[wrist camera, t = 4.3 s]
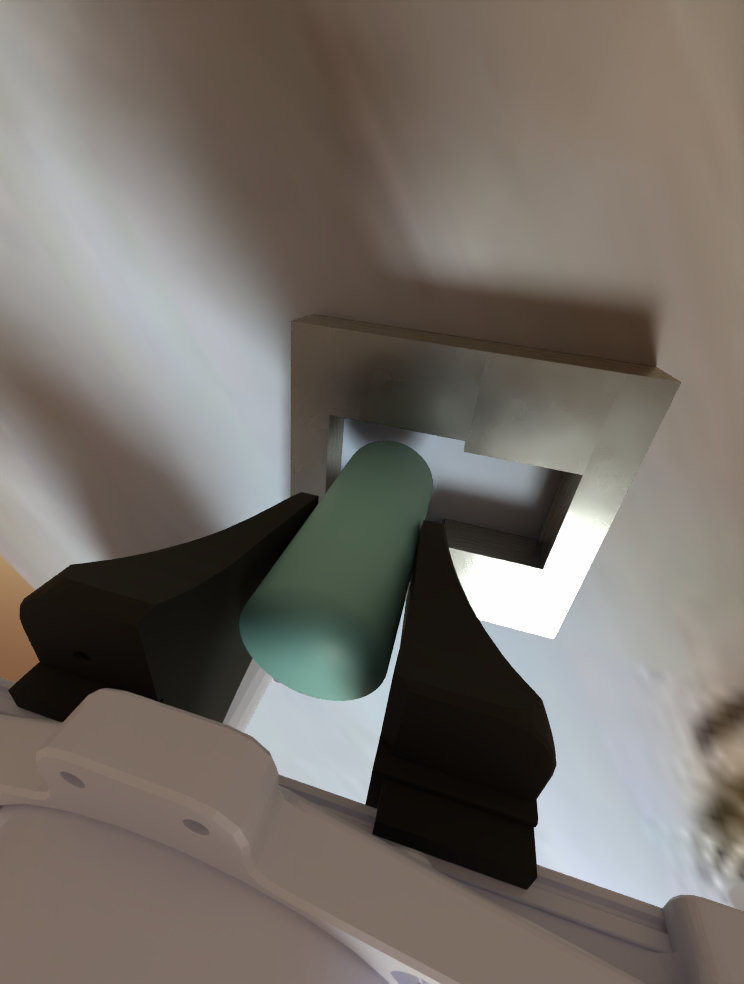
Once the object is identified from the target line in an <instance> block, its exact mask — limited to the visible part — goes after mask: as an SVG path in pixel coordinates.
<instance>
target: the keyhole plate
mask: <svg viewBox="0 0 744 984" xmlns="http://www.w3.org/2000/svg"><path fill="white" fill-rule="evenodd" d="M680 384H681V382H680V381H678V380H677V379H675V378H674V377H672V376H670V375H669V374H667V373H665V372H664V371H662V370H661V369H659V368H657V367H652V366H645V365H639V364H632V363H626V362H619V361H613V360H606V359H600V358H593V357H587V356H580V355H573V354H567V353H560V352H554V351H547V350H541V349H534V348H528V347H521V346H515V345H508V344H501V343H495V342H488V341H482V340H475V339H469V338H462V337H456V336H449V335H443V334H436V333H429V332H423V331H416V330H410V329H403V328H397V327H390V326H384V325H377V324H371V323H364V322H357V321H351V320H344V319H338V318H331V317H325V316H318V315H311V316H307V317H304V318H300V319H297V320H294V321H291V497H292V496H294V495H296V494H298V493H300V492H304V493H308V494H313V495H317V496H319V502H320V501H321V499H322V498H323V496H324V495H325V494H326V492H327V491H328V490H329V488H330V487H331V485H332V484H333V483H334V481H335V480H336V478H337V477H338V476H339V474H340V469H341V456H342V442H343V429H344V418H349V419H354V420H359V421H364V422H369V423H375V424H380V425H385V426H390V427H395V428H401V429H406V430H411V431H416V432H421V433H426V434H432V435H437V436H442V437H447V438H452V439H458V440H463V441H465V446H464V452H468V453H473V454H478V455H483V456H489V457H494V458H499V459H504V460H509V461H514V462H519V463H524V464H529V465H534V466H539V467H544V468H549V469H555V470H560V471H565V472H564V475H563V477H562V480H561V483H560V485H559V488H558V490H557V493H556V495H555V498H554V500H553V503H552V505H551V508H550V510H549V513H548V516H547V518H546V521H545V523H544V526H543V528H542V531H541V533H540V536H539V538H538V540H535V539H530V538H526V537H521V536H517V535H513V534H508V533H504V532H499V531H495V530H490V529H486V528H481V527H477V526H472V525H468V524H464V523H459V522H455V521H450V520H446V519H445V523H444V526H445V528H446V537H447V542H448V547H449V551H450V554H451V558H452V561H453V564H454V567H455V570H456V573H457V575H458V578H459V581H460V583H461V585H462V588H463V590H464V592H465V594H466V597H467V599H468V601H469V603H470V605H471V606H472V608H473V610H474V612H475V614H476V616H477V617H478V619H479V620H483V621H487V622H491V623H495V624H499V625H502V626H506V627H510V628H514V629H518V630H522V631H525V632H529V633H533V634H537V635H541V636H545V637H548V638H552V639H554V638H555V636H556V634H557V632H558V630H559V628H560V626H561V624H562V622H563V620H564V618H565V616H566V614H567V611H568V609H569V607H570V605H571V603H572V601H573V599H574V597H575V595H576V593H577V591H578V589H579V587H580V585H581V583H582V581H583V579H584V577H585V575H586V573H587V571H588V569H589V567H590V565H591V563H592V561H593V559H594V557H595V555H596V553H597V551H598V549H599V547H600V545H601V543H602V541H603V539H604V537H605V535H606V533H607V531H608V529H609V527H610V525H611V523H612V521H613V519H614V517H615V515H616V513H617V511H618V509H619V507H620V505H621V503H622V501H623V499H624V497H625V495H626V493H627V491H628V489H629V487H630V485H631V483H632V481H633V479H634V477H635V475H636V473H637V470H638V468H639V466H640V464H641V462H642V460H643V458H644V456H645V454H646V452H647V450H648V448H649V446H650V444H651V442H652V440H653V438H654V436H655V434H656V432H657V430H658V428H659V426H660V424H661V422H662V420H663V418H664V416H665V414H666V412H667V410H668V408H669V406H670V404H671V402H672V400H673V398H674V396H675V394H676V392H677V390H678V388H679V386H680ZM319 502H318V503H319ZM408 588H409V587H408ZM407 593H408V591H407ZM406 598H407V595H406ZM406 598H405V600H406Z"/></svg>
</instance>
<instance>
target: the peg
mask: <svg viewBox="0 0 744 984" xmlns="http://www.w3.org/2000/svg"><path fill="white" fill-rule="evenodd" d="M432 490H433V479H432V474H431V471H430V469H429V467H428V465H427V463H426V462H425V460H424V459H423V458H422V457H421V456H420V455H419V454H418V453H417V452H416V451H414V450H413V449H412V448H410V447H408V446H406V445H403V444H401V443H398V442H393V441H377V442H373V443H370V444H367V445H365V446H363V447H362V448H360V449H359V450H358V451H357V452H356V453H355V454H354V455H353V456H352V458H351V459H350V460H349V462H348V463H347V465H346V466H345V467H344V469H343V470H342V472H341V473H340V474H339V476H338V477H337V478H336V480H335V481H334V483H333V484H332V485H331V487H330V488H329V490H328V491H327V492H326V494H325V495H324V496H323V498H322V499H321V501H320V502H319V503H318V505H317V506H316V508H315V509H314V510H313V512H312V513H311V514H310V516H309V517H308V519H307V520H306V521H305V523H304V524H303V526H302V527H301V528H300V530H299V531H298V533H297V534H296V535H295V537H294V538H293V539H292V541H291V542H290V544H289V545H288V546H287V548H286V549H285V551H284V552H283V553H282V555H281V556H280V557H279V559H278V560H277V562H276V563H275V564H274V566H273V567H272V569H271V570H270V571H269V573H268V574H267V575H266V577H265V578H264V580H263V581H262V582H261V584H260V585H259V587H258V588H257V589H256V591H255V592H254V593H253V595H252V596H251V598H250V599H249V600H248V602H247V603H246V605H245V606H244V608H243V610H242V612H241V615H240V620H239V628H240V634H241V637H242V640H243V643H244V645H245V647H246V649H247V651H248V652H249V654H250V655H251V657H252V658H253V659H254V660H255V662H256V663H257V664H258V665H259V666H260V667H261V668H262V669H263V670H264V671H265V672H266V673H268V674H269V675H270V676H271V677H273V678H274V679H275V680H277V681H278V682H280V683H282V684H283V685H285V686H287V687H289V688H291V689H293V690H295V691H297V692H299V693H302V694H305V695H308V696H311V697H315V698H319V699H324V700H333V701H346V700H353V699H358V698H361V697H364V696H367V695H368V694H370V693H372V692H373V691H375V690H376V689H377V688H378V687H379V686H380V685H381V684H382V682H383V680H384V679H385V677H386V673H387V670H388V666H389V662H390V658H391V654H392V650H393V646H394V642H395V638H396V634H397V630H398V626H399V622H400V618H401V614H402V610H403V606H404V602H405V598H406V595H407V591H408V587H409V583H410V579H411V575H412V571H413V567H414V561H415V555H416V549H417V544H418V539H419V534H420V530H421V526H422V523H423V520H425V519H426V515H427V511H428V507H429V503H430V499H431V495H432Z"/></svg>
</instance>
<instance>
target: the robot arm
mask: <svg viewBox="0 0 744 984" xmlns="http://www.w3.org/2000/svg"><path fill="white" fill-rule="evenodd" d="M318 502H319V496H317V495H313V494H308V493H304V492H300V493H298V494H296V495H294V496H292V497H290V498H288V499H286V500H284V501H282V502H280V503H278V504H277V505H275V506H273V507H271V508H269V509H267V510H265V511H263V512H261V513H259V514H257V515H255V516H253V517H251V518H249V519H247V520H245V521H242V522H240V523H238V524H236V525H234V526H231V527H229V528H227V529H224V530H222V531H219V532H217V533H214V534H212V535H209V536H206V537H203V538H200V539H197V540H194V541H191V542H188V543H184V544H180V545H177V546H173V547H170V548H166V549H162V550H158V551H154V552H149V553H145V554H140V555H135V556H130V557H124V558H118V559H112V560H105V561H97V562H90V563H82V564H73V565H70V566H69V567H67V568H66V569H64V570H63V571H62V572H60V573H59V574H57V575H56V576H55V577H53V578H52V579H51V580H49V581H48V582H46V583H45V584H44V585H42V586H41V587H40V588H38V589H37V590H35V591H34V592H33V593H31V594H30V595H28V596H27V597H26V598H24V600H23V601H22V603H21V605H20V620H21V623H22V626H23V628H24V630H25V632H26V634H27V636H28V638H29V641H30V642H31V645H32V647H33V649H34V651H35V653H36V655H37V657H38V659H39V661H40V662H39V663H38V664H37V665H36V666H35V667H33V668H32V669H31V670H30V671H29V672H28V673H27V674H26V675H24V676H23V677H22V678H21V679H20V680H19V681H18V682H16V683H14V682H12V681H9V680H6V679H3V678H0V984H744V911H741V910H738V909H735V908H732V907H729V906H726V905H723V904H720V903H717V902H714V901H711V900H708V899H706V898H702V897H698V896H694V895H679V896H676V897H673V898H672V899H670V900H669V901H668V902H667V903H666V905H665V906H664V907H663V908H660V907H657V906H654V905H651V904H648V903H645V902H642V901H640V900H637V899H634V898H631V897H628V896H625V895H622V894H620V893H617V892H614V891H611V890H608V889H605V888H602V887H599V886H597V885H594V884H591V883H588V882H585V881H582V880H579V879H577V878H574V877H571V876H568V875H565V874H562V873H559V872H556V871H554V870H551V869H548V868H545V867H542V866H539V865H537V864H536V851H535V838H534V827H536V826H537V823H538V812H537V800H536V799H537V798H538V796H539V795H540V793H541V792H542V790H543V789H544V787H545V786H546V784H547V783H548V781H549V780H550V778H551V777H552V775H553V773H554V770H555V767H556V754H555V746H554V741H553V736H552V732H551V728H550V725H549V721H548V717H547V714H546V711H545V708H544V704H543V701H542V699H541V698H540V697H539V696H538V695H537V694H536V693H535V691H534V690H533V689H532V688H531V687H530V686H529V685H528V684H527V683H526V682H525V681H524V680H523V679H522V677H521V676H520V675H519V674H518V673H517V672H516V671H515V670H514V669H513V667H512V666H511V665H510V664H509V662H508V661H507V660H506V659H505V657H504V656H503V655H502V654H501V652H500V651H499V649H498V648H497V647H496V645H495V644H494V642H493V641H492V639H491V638H490V636H489V635H488V634H487V632H486V631H485V629H484V627H483V626H482V624H481V622H480V621H479V619H478V617H477V616H476V614H475V612H474V610H473V608H472V606H471V605H470V603H469V601H468V599H467V597H466V594H465V592H464V590H463V588H462V585H461V583H460V581H459V578H458V575H457V573H456V570H455V567H454V564H453V561H452V558H451V554H450V551H449V547H448V542H447V537H446V528H445V526H444V525H443V524H440V523H436V522H431V521H427V520H423V523H422V526H421V530H420V534H419V539H418V544H417V549H416V555H415V561H414V567H413V571H412V575H411V579H410V583H409V588H408V593H407V598H406V606H405V613H404V621H403V629H402V636H401V644H400V649H399V653H398V657H397V661H396V665H395V669H394V674H393V679H392V683H391V688H390V693H389V698H388V702H387V707H386V712H385V717H384V721H383V726H382V731H381V736H380V740H379V744H378V749H377V753H376V757H375V762H374V766H373V771H372V776H371V781H370V786H369V790H368V795H367V800H366V805H364V804H362V803H359V802H356V801H353V800H350V799H347V798H344V797H341V796H339V795H336V794H333V793H330V792H327V791H324V790H321V789H319V788H316V787H313V786H310V785H307V784H304V783H301V782H298V781H296V780H293V779H290V778H287V777H284V776H281V775H279V774H278V771H277V768H276V765H275V763H274V761H273V759H272V756H271V754H270V752H269V751H268V750H267V749H266V748H264V747H263V746H262V745H261V744H260V743H259V742H258V741H257V740H255V739H254V738H253V737H252V736H250V735H248V734H245V733H244V731H245V729H246V727H247V726H248V724H249V722H250V720H251V718H252V716H253V714H254V712H255V710H256V708H257V706H258V705H259V703H260V701H261V699H262V697H263V695H264V693H265V691H266V689H267V687H268V685H269V683H270V682H272V683H275V684H278V685H281V686H285V685H283V684H282V683H280V682H278V681H277V680H275V679H274V678H273V677H271V676H270V675H269V674H268V673H266V672H265V671H264V670H263V669H262V668H261V667H260V666H259V665H258V664H257V663H256V662H255V660H254V659H253V658H252V657H251V655H250V654H249V652H248V651H247V649H246V647H245V645H244V643H243V640H242V637H241V634H240V628H239V620H240V615H241V612H242V610H243V608H244V606H245V605H246V603H247V602H248V600H249V599H250V598H251V596H252V595H253V593H254V592H255V591H256V589H257V588H258V587H259V585H260V584H261V582H262V581H263V580H264V578H265V577H266V575H267V574H268V573H269V571H270V570H271V569H272V567H273V566H274V564H275V563H276V562H277V560H278V559H279V557H280V556H281V555H282V553H283V552H284V551H285V549H286V548H287V546H288V545H289V544H290V542H291V541H292V539H293V538H294V537H295V535H296V534H297V533H298V531H299V530H300V528H301V527H302V526H303V524H304V523H305V521H306V520H307V519H308V517H309V516H310V514H311V513H312V512H313V510H314V509H315V508H316V506H317V505H318ZM285 687H287V686H285Z"/></svg>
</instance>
